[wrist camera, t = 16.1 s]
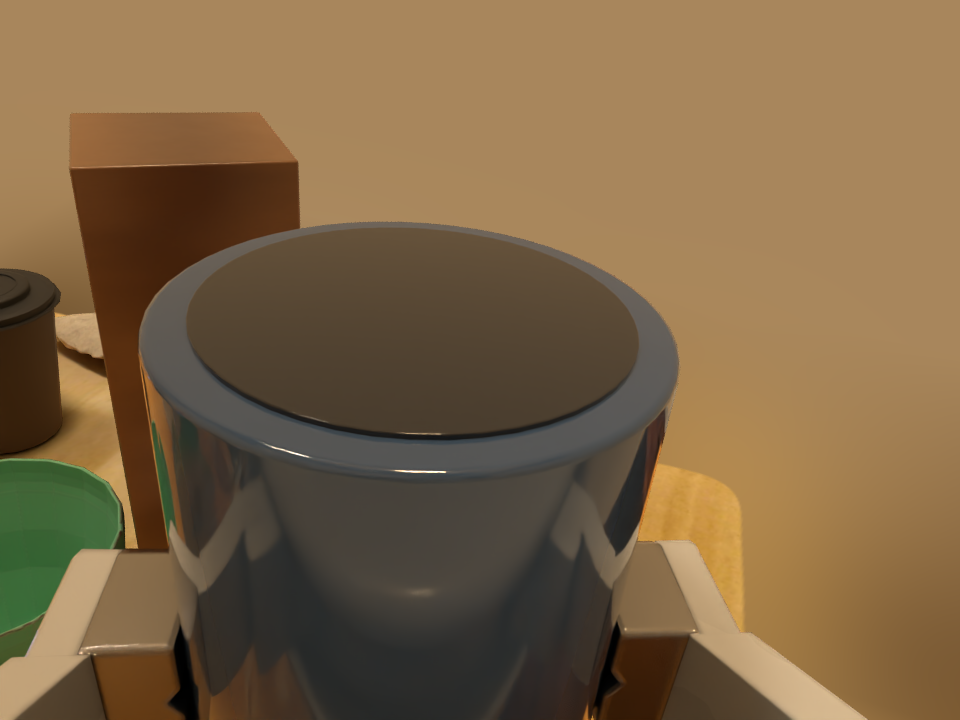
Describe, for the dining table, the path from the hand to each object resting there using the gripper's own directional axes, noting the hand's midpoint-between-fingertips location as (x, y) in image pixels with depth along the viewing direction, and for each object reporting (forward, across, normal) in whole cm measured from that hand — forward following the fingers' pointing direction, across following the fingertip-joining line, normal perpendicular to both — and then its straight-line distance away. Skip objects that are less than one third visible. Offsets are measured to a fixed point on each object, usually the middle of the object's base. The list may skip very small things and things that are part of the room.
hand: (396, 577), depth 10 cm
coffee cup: (+35, +23, +23) cm, 47 cm away
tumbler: (-1, 0, +6) cm, 6 cm away
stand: (+17, +6, +23) cm, 29 cm away
